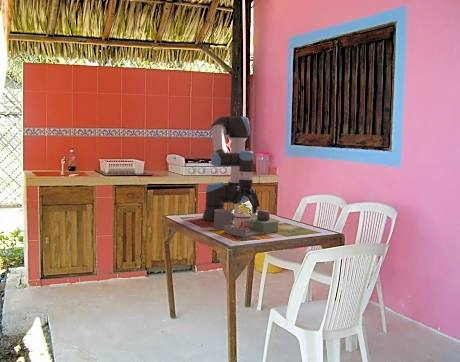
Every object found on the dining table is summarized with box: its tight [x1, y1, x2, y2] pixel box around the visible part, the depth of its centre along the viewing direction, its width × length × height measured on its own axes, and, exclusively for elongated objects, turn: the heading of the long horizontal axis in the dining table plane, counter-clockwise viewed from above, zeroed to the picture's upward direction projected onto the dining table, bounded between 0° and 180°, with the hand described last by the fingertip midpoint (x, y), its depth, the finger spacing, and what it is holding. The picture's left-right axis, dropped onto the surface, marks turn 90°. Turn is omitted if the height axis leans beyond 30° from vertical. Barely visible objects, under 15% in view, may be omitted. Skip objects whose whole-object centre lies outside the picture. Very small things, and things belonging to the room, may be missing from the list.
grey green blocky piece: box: [223, 209, 279, 238], centre depth 310 cm, size 16×27×11 cm, turn 133°
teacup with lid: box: [233, 210, 254, 233], centre depth 306 cm, size 12×9×12 cm
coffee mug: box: [213, 208, 234, 230], centre depth 322 cm, size 13×10×10 cm
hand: (244, 217), depth 306 cm, fingers open, 13 cm apart
